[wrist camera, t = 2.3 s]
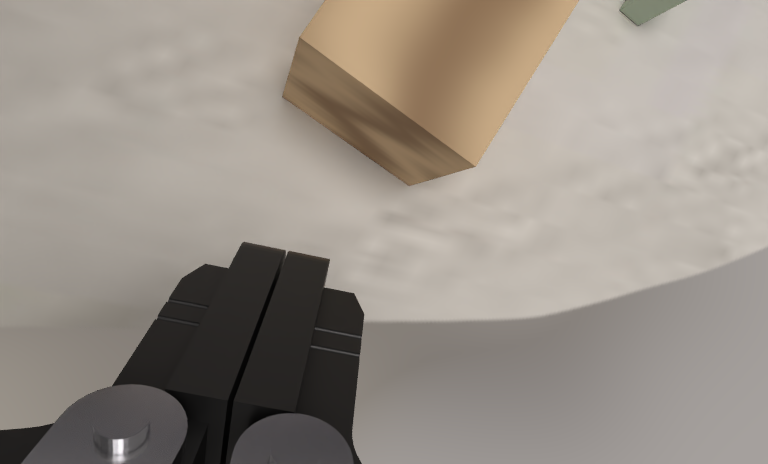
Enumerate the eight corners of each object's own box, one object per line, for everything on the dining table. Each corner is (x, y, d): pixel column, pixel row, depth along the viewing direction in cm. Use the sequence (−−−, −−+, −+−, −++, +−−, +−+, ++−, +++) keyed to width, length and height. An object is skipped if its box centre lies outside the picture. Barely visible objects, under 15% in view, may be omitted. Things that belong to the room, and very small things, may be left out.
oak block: (282, 96, 29) (299, 37, 20) (386, -54, 30) (445, -172, 21) (408, 185, 30) (475, 166, 22) (502, 38, 32) (601, -36, 23)
